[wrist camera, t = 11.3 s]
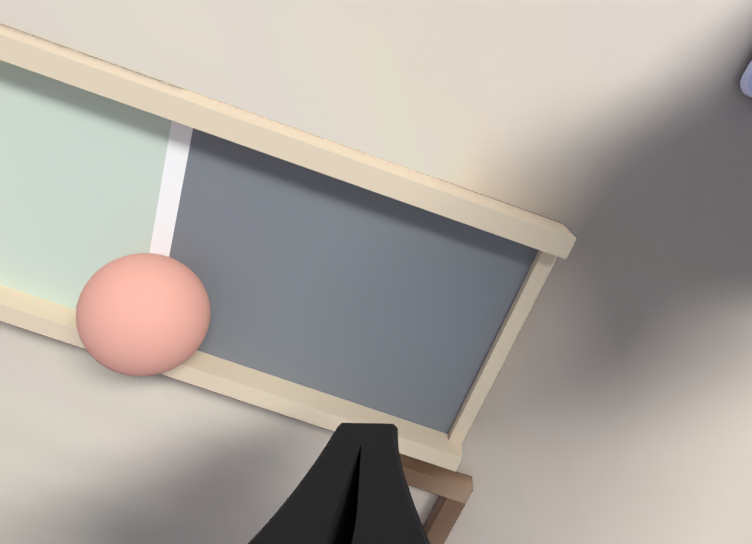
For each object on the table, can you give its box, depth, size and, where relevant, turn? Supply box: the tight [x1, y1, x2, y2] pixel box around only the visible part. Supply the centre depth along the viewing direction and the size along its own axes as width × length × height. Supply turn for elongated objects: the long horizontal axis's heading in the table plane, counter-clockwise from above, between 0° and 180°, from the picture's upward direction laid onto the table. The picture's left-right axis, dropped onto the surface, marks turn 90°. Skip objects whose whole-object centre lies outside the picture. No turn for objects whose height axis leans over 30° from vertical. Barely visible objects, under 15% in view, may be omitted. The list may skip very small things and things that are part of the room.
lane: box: [0, 24, 577, 472], centre depth 19 cm, size 24×11×4 cm, turn 71°
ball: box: [76, 253, 211, 376], centre depth 19 cm, size 4×4×4 cm
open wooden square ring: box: [399, 453, 473, 544], centre depth 24 cm, size 5×5×1 cm
